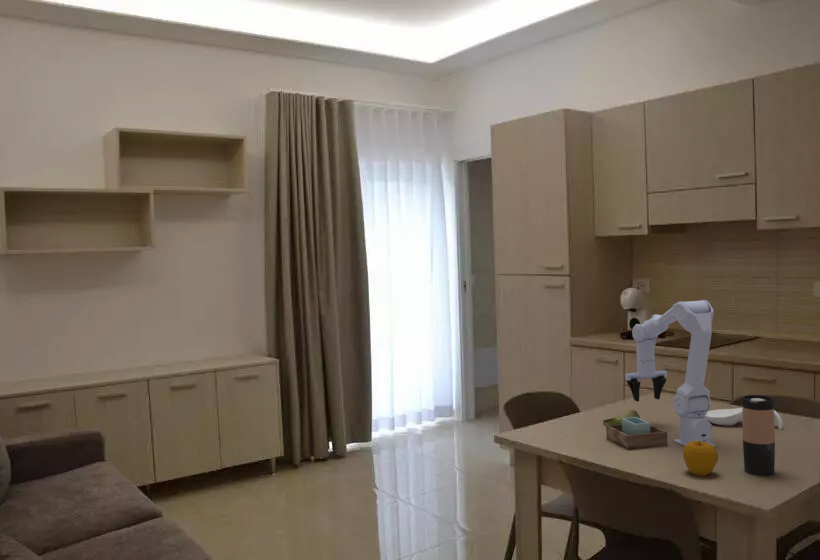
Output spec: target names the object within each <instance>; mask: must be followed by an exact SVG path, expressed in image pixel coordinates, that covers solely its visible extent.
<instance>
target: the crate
mask: <svg viewBox="0 0 820 560" xmlns="http://www.w3.org/2000/svg"><path fill="white" fill-rule="evenodd" d="M605 426H606V425H605ZM605 431H606V440H608V441H610V442H612V443H613V444H615V445H618V446H619V447H621V448H623V449H625V450H627V451H634V450H635V451H636V450H643V449H651V448H652V449H653V448H660V447H668V431H666V430H664V429H662V428H659V427H657V426H654V425H652V424H650V433H646V434H637V435H627V434H625V433H622V424H618V425H609V426H606V429H605Z"/></svg>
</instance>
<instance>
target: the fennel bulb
mask: <svg viewBox="0 0 820 560" xmlns="http://www.w3.org/2000/svg"><path fill="white" fill-rule="evenodd" d="M632 417H637V418H639V419H641V416H640V414H639V413H638V412H637V411H636V410H634V409H629V410H627V411H625V412H623V413H622V414H620V415H618V416H616V417H613V418H609V419H603V420H602V423H603V424H604V425H605V426H609V425H618V424H622V418H632Z"/></svg>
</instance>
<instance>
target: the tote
mask: <svg viewBox="0 0 820 560" xmlns="http://www.w3.org/2000/svg"><path fill="white" fill-rule="evenodd" d="M650 425H651V422H648V421H646V420H644V419H642V418H640V419H639V418H637V417H632V418H622V433H625V434H627V435H637V434H646V433H650Z"/></svg>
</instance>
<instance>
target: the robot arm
mask: <svg viewBox="0 0 820 560" xmlns="http://www.w3.org/2000/svg"><path fill="white" fill-rule="evenodd" d="M709 302H710V301H708V300H706V299H701V300H691V301H677V302H676V303H674V304H672V307H671V308H670V309H668V310H667V311H666V312H665V313H663V314H662V315H661V314H657V313H656V314H653V315H651V318H650V319H648V320H644V322H643V323H642V324H639V323H636V324H635V325H634V326H633V327H632V330H631V334H632V338H633V340H634V341H635V343H636V348H635V349H636V372H635V371H634V372H630V373H624V380H626V384H627V385H628V387H629V390H630V391H631V394H632V397H633V401H635V402H640V387H641V381H639V380H645V379H651V380H652V386H653V398H654V399H655V400H660V398H661V394H662V391H663V388H664V386H665V383H667V378H668V371H666V370H656V364H655V363H656V362H655V346H656V344H657V339H658V336H659V335H660V334H662V333H664V332H665V331H667V330H668V329H669V326H670V325H671V324H672V323H674V322H676V321H677V322H678V323H679V324H680V326H681V327H682V328H683V329H684V330H685V331H686V332H688V333H690V335H691V336H690V343H689V349H688V355H687V364H686V370H685V375H684V383H682V384H681V385H680V386H678V388H677V389H676V393H675V395H674V397H673V399H672V406H673V410H674V411H675V413H676V414H677V415H678V416H679V439H674V440H673V442H675V443H677V444H679V445H682V446H684V447H685V446H686V444H687V443H689V442H691V441H702V442H707V443H709V444H711V445H713V447H714V448H715V447H716V445H715V444H713V426H712V422H710V421H709V420H707V418H706V417H705V415H707V412H708V411H710V409H711V406H712V403H711V398H710V397H711V391H710V390H709V389H708V388H707V387H706V386H705V379H706V372H707V367H708V359H709V353H710V349H711V348H710V346H711V341H712V334H713V330H712V328H713V327H712V325H713V319H714V312H715V311H714V309H713V306H712V305H711V304H710V303H709Z"/></svg>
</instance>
